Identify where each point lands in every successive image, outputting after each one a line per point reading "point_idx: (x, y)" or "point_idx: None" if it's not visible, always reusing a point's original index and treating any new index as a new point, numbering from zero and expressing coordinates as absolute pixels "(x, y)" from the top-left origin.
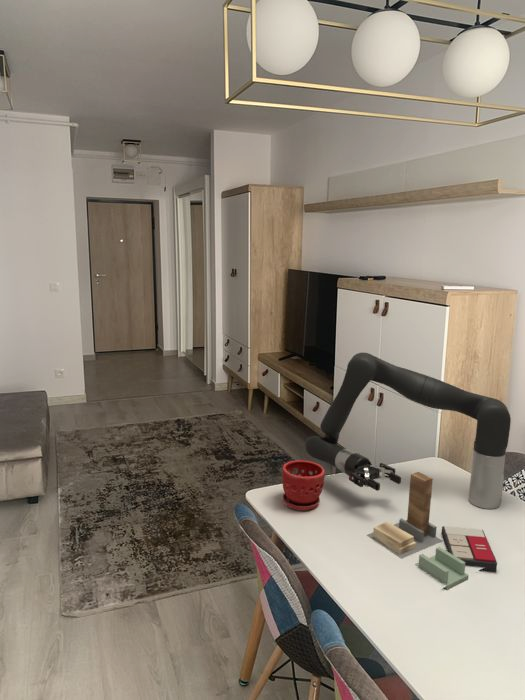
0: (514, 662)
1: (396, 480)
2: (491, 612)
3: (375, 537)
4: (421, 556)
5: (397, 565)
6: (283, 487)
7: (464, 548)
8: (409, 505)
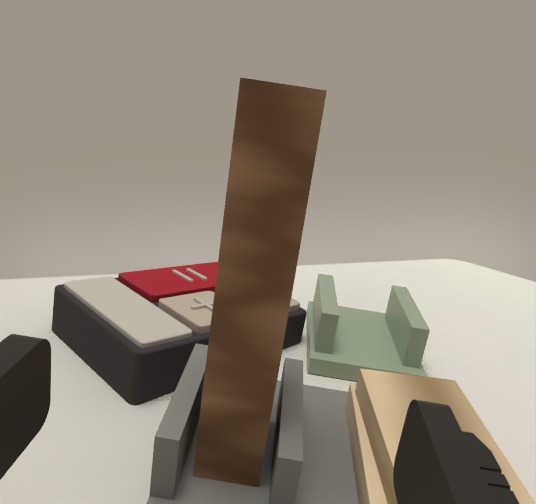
0: (417, 262)
1: (23, 415)
2: (357, 282)
3: None
4: (426, 325)
5: None
6: None
7: None
8: (285, 326)
